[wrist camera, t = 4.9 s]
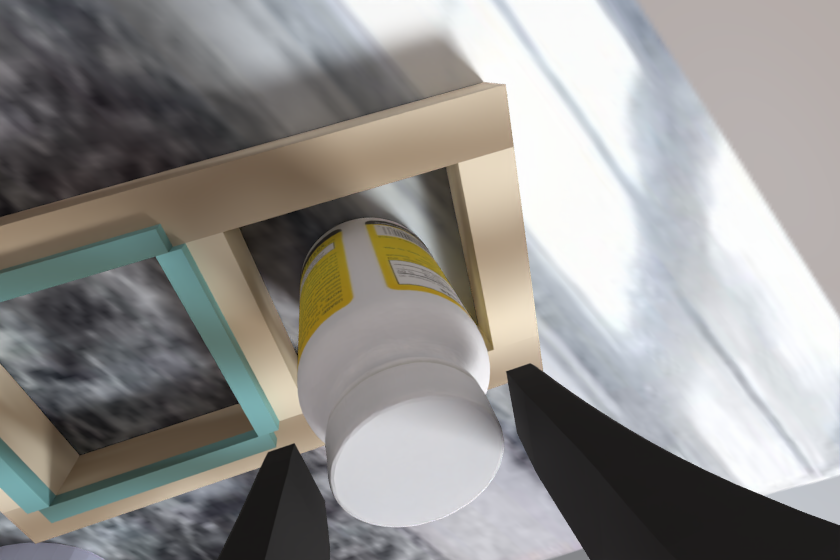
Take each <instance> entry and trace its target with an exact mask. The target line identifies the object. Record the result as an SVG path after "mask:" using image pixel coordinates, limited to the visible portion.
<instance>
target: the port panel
mask: <svg viewBox="0 0 840 560" xmlns="http://www.w3.org/2000/svg"><path fill="white" fill-rule="evenodd" d="M443 167H446V170H447V175H448V180H449V185H450V190H451V195H452V200H453V204H454V209H455V214H456V219H457V224H458V229H459V233H460V238H461V243H462V248H463V253H464V258H465V262H466V267H467V272H468V277H469V282H470V287H471V292H472V296H473V301H474V306H475V311H476V316H477V321H478V326H477V328H478V330H479V332H480V333H481V336H482V338H483V340H484V343H485V346H486V348H487V352H488V356H489V362H490V379H489V385H488V389H487V390H489V389H492V388H495V387H497V386H500V385H503V384H506V383H508V380H507V374H506V371H508V370H511V369H514V368H517V367H520V366H523V365H526V364H529V363H531V364H533V365H535V366H536V367H538V368H539V369H540V370H542V371H543V366H542V359H541V351H540V344H539V336H538V328H537V321H536V313H535V305H534V298H533V290H532V283H531V275H530V267H529V260H528V252H527V244H526V237H525V229H524V222H523V214H522V206H521V199H520V191H519V183H518V176H517V168H516V161H515V153H514V145H513V138H512V130H511V123H510V115H509V107H508V100H507V92H506V84H497V83H487V82H483V83H480V84H476V85H473V86H469V87H465V88H462V89H458V90H455V91H451V92H447V93H444V94H440V95H437V96H433V97H429V98H426V99H422V100H419V101H415V102H412V103H408V104H404V105H401V106H397V107H394V108H390V109H386V110H383V111H379V112H376V113H372V114H369V115H365V116H361V117H358V118H354V119H351V120H347V121H343V122H340V123H336V124H333V125H329V126H326V127H322V128H318V129H315V130H311V131H308V132H304V133H300V134H297V135H293V136H290V137H286V138H282V139H279V140H275V141H272V142H268V143H265V144H261V145H257V146H254V147H250V148H247V149H243V150H239V151H236V152H232V153H229V154H225V155H222V156H218V157H214V158H211V159H207V160H204V161H200V162H196V163H193V164H189V165H186V166H182V167H178V168H175V169H171V170H168V171H164V172H161V173H157V174H153V175H150V176H146V177H143V178H139V179H135V180H132V181H128V182H125V183H121V184H118V185H114V186H110V187H107V188H103V189H100V190H96V191H92V192H89V193H85V194H82V195H78V196H75V197H71V198H67V199H64V200H60V201H57V202H53V203H49V204H46V205H42V206H39V207H35V208H31V209H28V210H24V211H21V212H17V213H14V214H10V215H6V216H3V217H0V302H2V301H6V300H9V299H13V298H16V297H19V296H23V295H26V294H30V293H33V292H36V291H40V290H43V289H47V288H50V287H53V286H57V285H60V284H64V283H67V282H70V281H74V280H77V279H81V278H84V277H87V276H91V275H94V274H98V273H101V272H104V271H108V270H111V269H115V268H118V267H121V266H125V265H128V264H132V263H135V262H138V261H142V260H145V259H149V258H152V257H155V256H156V258H157V260H158V262H159V263H160V265H161V267H162V269H163V270H164V272H165V274H166V276H167V278H168V279H169V281H170V283H171V285H172V286H173V288H174V290H175V292H176V293H177V295H178V297H179V299H180V300H181V302H182V304H183V306H184V307H185V309H186V311H187V313H188V314H189V316H190V318H191V320H192V321H193V323H194V325H195V327H196V328H197V330H198V332H199V334H200V335H201V337H202V339H203V341H204V342H205V344H206V346H207V348H208V349H209V351H210V353H211V355H212V356H213V358H214V360H215V362H216V363H217V365H218V367H219V369H220V370H221V372H222V374H223V376H224V377H225V379H226V381H227V383H228V384H229V386H230V388H231V390H232V391H233V393H234V395H235V397H236V398H237V400H238V402H239V404H236V405H233V406H230V407H227V408H224V409H221V410H218V411H215V412H211V413H208V414H205V415H202V416H199V417H196V418H193V419H190V420H187V421H184V422H181V423H178V424H175V425H172V426H169V427H166V428H163V429H160V430H156V431H153V432H150V433H147V434H144V435H141V436H138V437H135V438H132V439H129V440H126V441H123V442H120V443H117V444H114V445H111V446H108V447H104V448H101V449H98V450H95V451H92V452H89V453H86V454H83V455H79V454H78V453H77V452H76V451H75V450H74V448H73V447H72V446H71V445H70V444H69V443H68V441H67V440H66V439H65V438H64V437H63V436H62V434H61V433H60V432H59V431H58V430H57V429H56V427H55V426H54V425H53V424H52V423H51V422H50V421H49V419H48V418H47V417H46V416H45V415H44V414H43V412H42V411H41V410H40V409H39V408H38V407H37V405H36V404H35V403H34V402H33V401H32V400H31V399H30V397H29V396H28V395H27V394H26V393H25V392H24V390H23V389H22V388H21V387H20V386H19V385H18V383H17V382H16V381H15V380H14V379H13V378H12V377H11V375H10V374H9V373H8V372H7V371H6V370H5V368H4V367H3V366H2V365H1V364H0V511H1V512H2V513H3V514H4V515H5V516H6V517H7V518H8V519H9V520H10V521H11V522H13V523H14V524H15V525H16V526H17V527H18V528H19V529H20V530H21V531H22V532H23V533H24V534H25V535H27V536H28V537H29V538H30V539H31V540H32V541H33V542H34V543H35V544H36V543H39V542H42V541H45V540H48V539H51V538H54V537H57V536H60V535H63V534H66V533H69V532H72V531H74V530H77V529H80V528H83V527H86V526H89V525H92V524H95V523H98V522H101V521H104V520H107V519H110V518H113V517H116V516H119V515H121V514H124V513H127V512H130V511H133V510H136V509H139V508H142V507H145V506H148V505H151V504H154V503H157V502H160V501H163V500H166V499H168V498H171V497H174V496H177V495H180V494H183V493H186V492H189V491H192V490H195V489H198V488H201V487H204V486H207V485H210V484H213V483H215V482H218V481H221V480H224V479H227V478H230V477H233V476H236V475H239V474H242V473H245V472H248V471H251V470H254V469H257V468H260V467H261V465H262V463H263V461H264V459H265V457H266V455H267V453H268V452H270V451H273V450H276V449H279V448H281V447H284V446H287V445H290V444H293V443H295V445H296V447H297V449H298V450H299V452H300V454H301V453H304V452H307V451H309V450H312V449H315V448H318V447H321V446H324V445H325V443H324V442H323V441H321V440H320V439H319V438H318V436H317V435H316V434H315V433H314V432H313V430H312V429H311V427H310V426H309V424H308V423H307V421H306V419H305V417H304V415H303V413H302V410H301V407H300V403H299V398H298V386H297V364H298V356H297V354H296V352H295V350H294V347H293V345H292V343H291V341H290V339H289V336H288V334H287V332H286V330H285V328H284V326H283V323H282V321H281V319H280V317H279V315H278V312H277V310H276V308H275V306H274V304H273V301H272V299H271V297H270V295H269V293H268V291H267V288H266V286H265V284H264V282H263V280H262V277H261V275H260V273H259V271H258V269H257V266H256V264H255V262H254V260H253V258H252V256H251V253H250V251H249V249H248V247H247V245H246V242H245V240H244V238H243V236H242V234H241V231H240V229H239V227H242V226H246V225H249V224H252V223H256V222H259V221H263V220H266V219H269V218H273V217H276V216H280V215H283V214H286V213H290V212H293V211H297V210H300V209H303V208H307V207H310V206H314V205H317V204H320V203H324V202H327V201H331V200H334V199H338V198H341V197H344V196H348V195H351V194H355V193H358V192H361V191H365V190H368V189H372V188H375V187H378V186H382V185H385V184H389V183H392V182H395V181H399V180H402V179H406V178H409V177H412V176H416V175H419V174H423V173H426V172H430V171H433V170H436V169H440V168H443Z"/></svg>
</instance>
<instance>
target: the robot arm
mask: <svg viewBox="0 0 840 560" xmlns="http://www.w3.org/2000/svg"><path fill="white" fill-rule="evenodd" d="M506 374H507V380H508V385H509V391H510V396H511V402H512V407H513V413H514V418H515V424H516V429H517V434H518V436H519V438H520V440H521V442H522V444H523V446H524V448H525V450H526V453H527V455H528V457H529V459H530V461H531V463H532V465H533V467H534V469H535V471H536V473H537V475H538V476H539V478H540V480H541V481H542V483H543V484H544V486H545V488H546V489H547V491H548V493H549V494H550V496H551V497H552V499H553V501H554V502H555V504H556V505H557V507H558V509H559V510H560V512H561V514H562V515H563V517H564V518H565V520H566V522H567V523H568V525H569V526H570V528H571V530H572V531H573V533H574V534H575V536H576V538H577V539H578V541H579V542H580V544H581V546H582V547H583V549H584V550H585V552H586V554H587V555H588V557H589V559H590V560H840V525H837V524H834V523H832V522H829V521H826V520H823V519H821V518H818V517H815V516H812V515H810V514H807V513H804V512H802V511H799V510H797V509H794V508H792V507H789V506H787V505H785V504H782V503H780V502H777V501H775V500H772V499H770V498H768V497H765V496H763V495H760V494H758V493H755V492H753V491H751V490H748V489H746V488H743V487H741V486H739V485H736V484H734V483H732V482H730V481H727V480H725V479H723V478H721V477H719V476H717V475H715V474H712V473H710V472H708V471H706V470H704V469H702V468H700V467H698V466H696V465H694V464H692V463H690V462H688V461H686V460H684V459H682V458H680V457H678V456H676V455H674V454H672V453H670V452H668V451H666V450H665V449H663V448H661V447H659V446H657V445H655V444H654V443H652V442H650V441H648V440H647V439H645V438H643V437H641V436H640V435H638V434H636V433H634V432H633V431H631V430H629V429H628V428H626V427H624V426H623V425H621V424H619V423H618V422H616V421H614V420H613V419H611V418H610V417H608V416H607V415H605V414H604V413H602V412H600V411H599V410H597V409H596V408H594V407H593V406H591V405H590V404H588V403H587V402H585V401H584V400H582V399H581V398H579V397H578V396H576V395H575V394H573V393H572V392H571V391H569V390H568V389H566V388H565V387H563V386H562V385H561V384H559V383H558V382H556V381H555V380H554V379H552V378H551V377H550V376H548V375H547V374H546V373H544V372H543V371H542V370H540V369H539V368H538V367H536V366H535V365H533V364H531V363H529V364H526V365H523V366H520V367H517V368H514V369H511V370H508V371H506ZM0 560H105V559H103V558H102V557H100V556H98V555H96V554H94V553H92V552H90V551H87V550H84V549H81V548H78V547H74V546H69V545H64V544H57V543H44V542H39V543H36V544H35V543H19V544H12V545H5V546H2V547H0ZM217 560H330V544H329V534H328V525H327V516H326V508H325V500H324V498H323V497H322V495H321V493H320V491H319V489H318V487H317V485H316V483H315V481H314V479H313V477H312V475H311V474H310V472H309V470H308V468H307V466H306V464H305V462H304V460H303V458H302V456H301V454H300V452H299V450H298V449H297V447H296V445H295V443H293V444H290V445H287V446H284V447H281V448H279V449H276V450H273V451H270V452H268V453H267V455H266V457H265V459H264V461H263V463H262V465H261V467H260V470H259V472H258V474H257V476H256V479H255V481H254V483H253V485H252V488H251V490H250V492H249V494H248V497H247V499H246V501H245V503H244V505H243V507H242V510H241V512H240V514H239V516H238V518H237V520H236V522H235V524H234V526H233V529H232V531H231V533H230V535H229V537H228V539H227V541H226V543H225V545H224V547H223V549H222V551H221V553H220V555H219V557H218V559H217Z"/></svg>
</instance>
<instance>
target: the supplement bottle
mask: <svg viewBox="0 0 840 560" xmlns="http://www.w3.org/2000/svg"><path fill="white" fill-rule="evenodd" d="M489 379H490V362H489V356H488V352H487V348H486V346H485V343H484V340H483V338H482V336H481V333H480V332H479V330H478V328H477V326H476V324H475V323H474V321H473V320H472V318H471V316H470V315H469V313H468V312H467V310H466V309H465V307H464V306H463V304H462V302H461V301H460V299H459V297H458V296H457V294H456V293H455V291H454V290H453V288H452V286H451V285H450V283H449V282H448V280H447V279H446V277H445V275H444V274H443V272H442V271H441V269H440V267H439V266H438V264H437V263H436V261H435V260H434V258H433V256H432V255H431V253H430V252H429V250H428V248H427V247H426V246H425V244H424V243H423V242H422V241H421V240H420V239H419V238H418V237H417V236H416V235H415V234H414V233H413V232H412V231H410V230H409V229H408V228H406V227H404V226H402V225H400V224H398V223H396V222H393V221H390V220H386V219H382V218H359V219H354V220H350V221H347V222H344V223H342V224H339V225H337V226H335V227H334V228H332V229H330V230H329V231H327V232H326V233H325V234H324V235H322V236H321V237H320V238H319V239H318V240H317V241H316V242H315V244H314V245H313V246H312V248H311V249H310V251H309V253H308V254H307V256H306V258H305V261H304V264H303V267H302V272H301V278H300V312H299V343H298V364H297V386H298V398H299V403H300V407H301V410H302V413H303V415H304V417H305V419H306V421H307V423H308V424H309V426H310V427H311V429H312V430H313V432H314V433H315V434H316V435H317V436H318V438H319V439H320V440H321V441H323V442H324V443H325V448H326V456H327V466H328V479H329V484H330V488H331V491H332V493H333V495H334V497H335V499H336V500H337V502H338V503H339V504H340V506H341V507H342V508H343V509H344V510H345V511H346V512H348V513H349V514H350V515H352V516H353V517H355V518H357V519H359V520H361V521H364V522H367V523H370V524H373V525H378V526H385V527H409V526H416V525H421V524H425V523H429V522H432V521H435V520H438V519H441V518H444V517H446V516H448V515H450V514H453V513H454V512H456V511H458V510H459V509H461V508H463V507H464V506H466V505H467V504H469V503H470V502H471V501H473V500H474V499H475V498H476V497H477V496H478V495H479V494H480V493H481V492H482V491H483V490H485V489H486V487H487V486H488V485H489V483H490V482H491V481H492V479H493V478H494V476H495V474H496V472H497V471H498V468H499V466H500V464H501V460H502V456H503V452H504V439H503V434H502V429H501V426H500V424H499V421H498V419H497V417H496V415H495V413H494V411H493V409H492V407H491V405H490V403H489V401H488V399H487V397H486V392H487V389H488V385H489Z"/></svg>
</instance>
